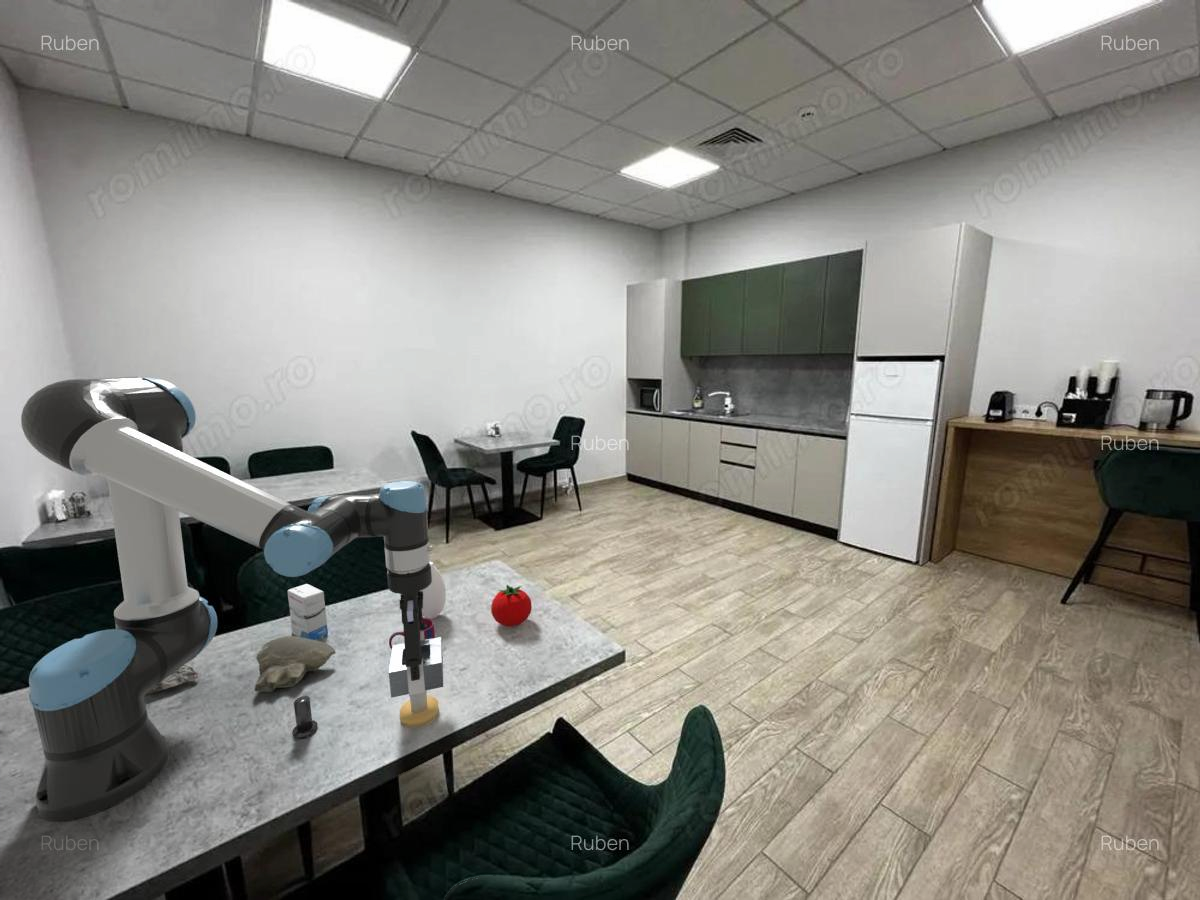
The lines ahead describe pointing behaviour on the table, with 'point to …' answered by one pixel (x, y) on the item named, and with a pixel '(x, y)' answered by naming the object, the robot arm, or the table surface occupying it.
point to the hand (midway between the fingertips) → (417, 676)
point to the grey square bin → (431, 667)
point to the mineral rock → (176, 679)
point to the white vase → (434, 595)
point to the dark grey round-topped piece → (303, 718)
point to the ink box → (307, 612)
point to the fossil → (289, 661)
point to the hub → (419, 710)
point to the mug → (428, 632)
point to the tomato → (511, 606)
